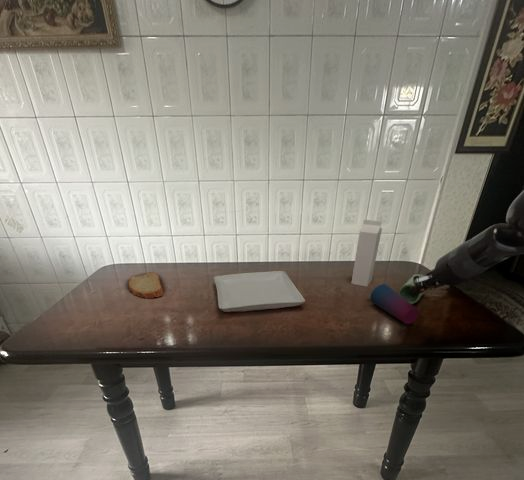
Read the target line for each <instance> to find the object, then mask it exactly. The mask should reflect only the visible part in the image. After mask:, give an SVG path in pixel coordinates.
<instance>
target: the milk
mask: <svg viewBox="0 0 524 480" xmlns="http://www.w3.org/2000/svg"><path fill="white" fill-rule="evenodd" d="M382 230H383V229H382V221H380V220H373V219H372V220H371V219H364V220H363V221H362V226H361V227H360V230H359V233H358V240H357V245H356V252H355V258H354V265H353V271H352V277H351V282H350V283H351V285H356V286H360V287H366V288H367V287H368V286H369V285H371V283H372V280H373V275H374V270H375V264H376V260H377V256H378V255H377V254H378V251H379V247H380V246H379V245H380V240H381V237H382V236H381V235H382Z"/></svg>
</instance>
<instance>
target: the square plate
mask: <svg viewBox="0 0 524 480" xmlns="http://www.w3.org/2000/svg"><path fill="white" fill-rule="evenodd" d="M213 281H214V285H215V288H216V292H217V305H218V308H219V309H220V310H221V311H222V312H225V313H232V312H239V313H240V312H250V311H262V310H275V309H283V308H289V307H291V308H292V307H298V306H301V305H303V304H304V303H306V299H305V298H304V296H303V295H302V294H301V292H300V291H299V289H298V288H297V287H296V285H295V284H294V283H293V281H292V280H291V278H290V277H289V275H288V274H287V272H286V271H284V270H276V271H274V270H273V271H272V270H271V271H256V272H242V273H232V274H222V275H221V274H220V275H215V276H213Z"/></svg>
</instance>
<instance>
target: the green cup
mask: <svg viewBox="0 0 524 480" xmlns="http://www.w3.org/2000/svg"><path fill="white" fill-rule="evenodd" d="M414 276H421V277H423V276H425V274H421V273H417V274H414V275H412V276H411V277H409V279H407V281H406V282H404V284H403V285H402V286H401V287H400V288H399V289H398V292H397V294H399V295H400V296H401V297H403V298H404V299H405V300H406V301H408V302H409V303H410V304H411V305H414V304H416V303H417V302H418V301H419V300H420V299H421V298H422V296H423V295H424V294H425V292H426V291H424V292H422V293H420V294H418V295H412V293H411V290H410V289H411V288H412V287H414V286H415V285H414V282H413V277H414Z"/></svg>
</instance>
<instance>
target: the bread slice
mask: <svg viewBox="0 0 524 480" xmlns="http://www.w3.org/2000/svg"><path fill="white" fill-rule="evenodd" d="M128 290H129V292H131V291H132V292H131V293H132V295H134V294H135V295H134V296H136V295H137V296H136V297H138V296H140V297H139V298H141V297H145V298H144V299H155V298H154V297H159V296H162V295H163V296H164V287H163V284H162V281H161V278H160V276H159V274H157V272H155V271H149V272H148V273H147V272H146V273H145V274H143V275H131V276H130V278H129V280H128ZM163 296H162V297H163ZM159 298H160V297H159Z"/></svg>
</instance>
